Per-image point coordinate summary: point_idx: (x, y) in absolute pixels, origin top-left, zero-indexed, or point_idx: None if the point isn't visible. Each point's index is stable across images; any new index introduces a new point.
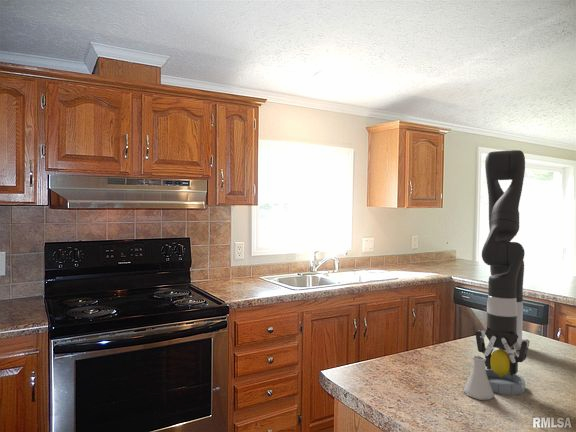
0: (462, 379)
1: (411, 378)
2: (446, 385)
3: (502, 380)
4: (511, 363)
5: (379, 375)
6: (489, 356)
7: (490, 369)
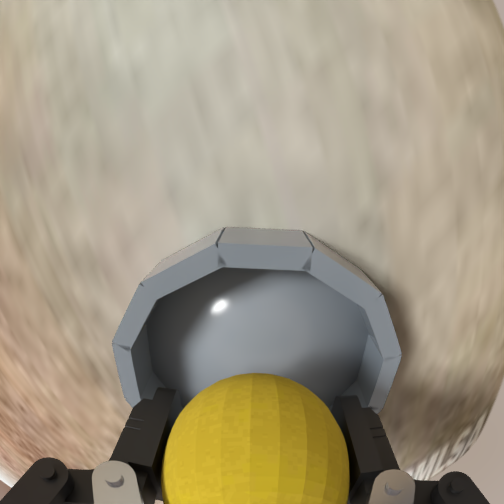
0: (95, 388)
1: (32, 446)
2: (108, 457)
3: (246, 295)
4: (349, 499)
5: (3, 452)
6: (155, 493)
7: (147, 305)
